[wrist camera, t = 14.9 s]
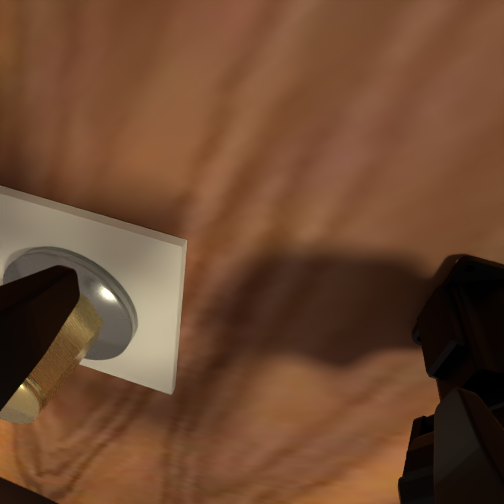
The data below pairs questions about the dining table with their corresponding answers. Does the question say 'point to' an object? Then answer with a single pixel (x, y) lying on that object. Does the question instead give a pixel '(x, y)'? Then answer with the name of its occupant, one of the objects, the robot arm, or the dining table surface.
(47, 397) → the brown and gold cylinder
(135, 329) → the metal disc with knob
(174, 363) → the board
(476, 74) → the dining table surface
